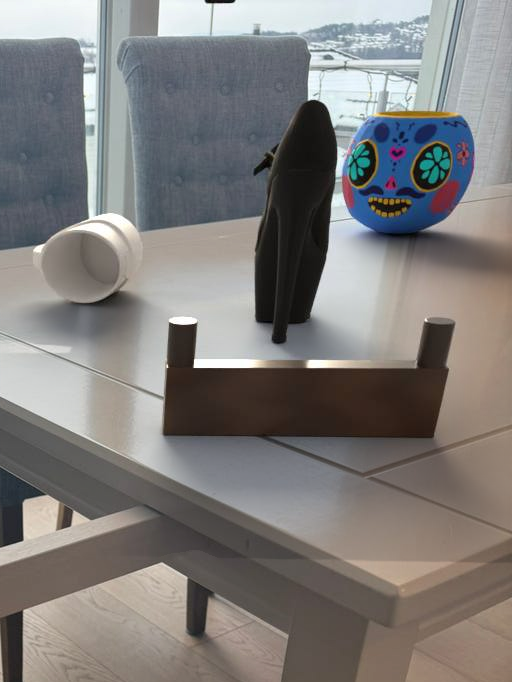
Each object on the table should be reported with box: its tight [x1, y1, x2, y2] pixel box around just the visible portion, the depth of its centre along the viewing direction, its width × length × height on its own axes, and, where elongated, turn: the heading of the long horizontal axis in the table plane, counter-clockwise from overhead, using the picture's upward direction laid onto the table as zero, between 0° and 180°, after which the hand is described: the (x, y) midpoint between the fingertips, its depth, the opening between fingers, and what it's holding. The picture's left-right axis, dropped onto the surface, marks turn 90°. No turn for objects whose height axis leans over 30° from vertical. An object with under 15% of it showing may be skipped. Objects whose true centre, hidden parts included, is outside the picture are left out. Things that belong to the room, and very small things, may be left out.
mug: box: [32, 213, 144, 304], centre depth 104 cm, size 12×9×8 cm
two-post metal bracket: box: [161, 316, 456, 438], centre depth 67 cm, size 20×2×8 cm, turn 86°
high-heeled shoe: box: [252, 99, 339, 343], centre depth 89 cm, size 8×19×20 cm, turn 167°
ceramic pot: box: [341, 110, 476, 235], centre depth 131 cm, size 18×18×15 cm
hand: (250, 1), depth 84 cm, fingers open, 9 cm apart
